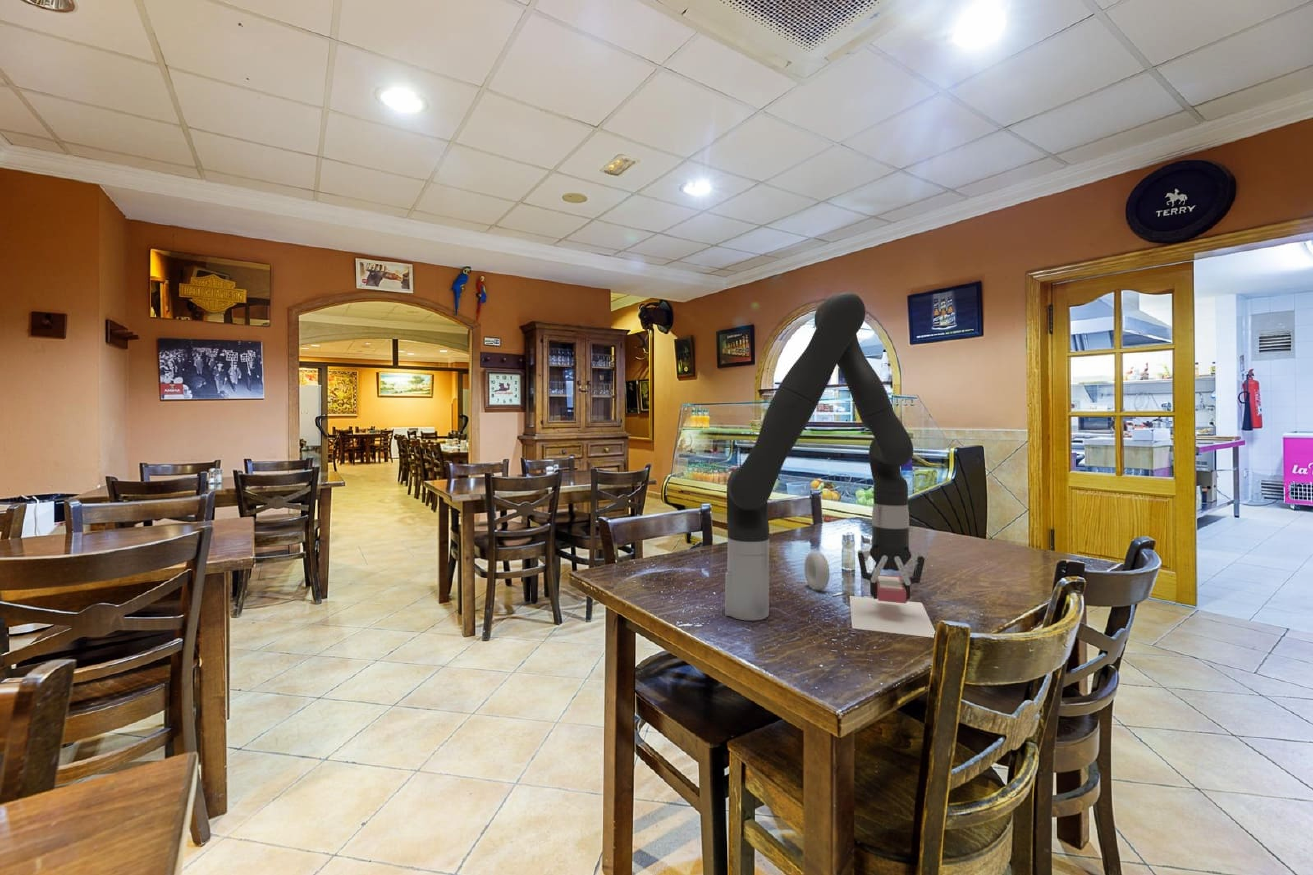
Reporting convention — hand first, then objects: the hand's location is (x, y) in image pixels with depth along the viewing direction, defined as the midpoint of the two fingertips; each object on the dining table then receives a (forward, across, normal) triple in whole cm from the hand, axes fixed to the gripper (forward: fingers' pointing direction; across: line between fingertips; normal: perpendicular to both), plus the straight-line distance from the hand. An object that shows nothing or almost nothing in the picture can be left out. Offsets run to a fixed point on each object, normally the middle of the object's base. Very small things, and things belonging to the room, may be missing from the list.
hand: (889, 599), depth 121 cm
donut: (+4, -16, +14) cm, 22 cm away
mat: (+4, 0, -1) cm, 4 cm away
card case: (-2, 0, +7) cm, 7 cm away
